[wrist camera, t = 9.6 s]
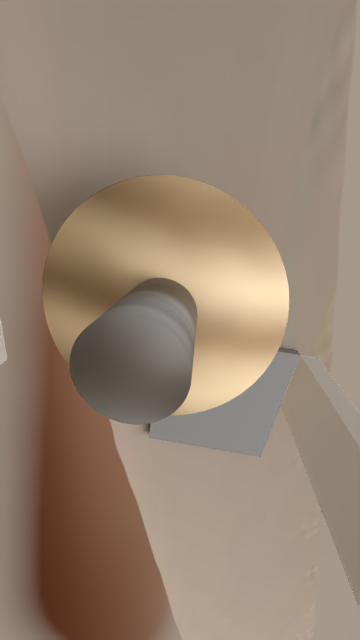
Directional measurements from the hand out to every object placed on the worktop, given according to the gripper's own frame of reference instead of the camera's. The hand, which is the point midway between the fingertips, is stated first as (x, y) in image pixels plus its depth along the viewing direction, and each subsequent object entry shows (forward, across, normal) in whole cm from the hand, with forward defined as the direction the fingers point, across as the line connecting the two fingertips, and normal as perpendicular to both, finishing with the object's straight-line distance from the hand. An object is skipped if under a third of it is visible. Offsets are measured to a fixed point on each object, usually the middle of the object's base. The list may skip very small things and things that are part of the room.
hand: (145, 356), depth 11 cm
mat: (+18, +7, -16) cm, 25 cm away
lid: (+6, 0, 0) cm, 6 cm away
